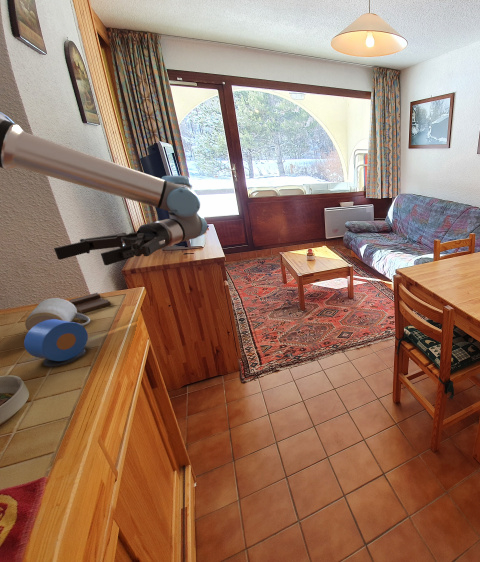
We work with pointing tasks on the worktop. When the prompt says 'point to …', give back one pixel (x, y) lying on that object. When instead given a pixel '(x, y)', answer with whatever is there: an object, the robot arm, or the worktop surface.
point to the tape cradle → (89, 302)
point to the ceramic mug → (54, 312)
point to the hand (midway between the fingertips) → (79, 256)
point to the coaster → (59, 363)
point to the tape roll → (56, 340)
